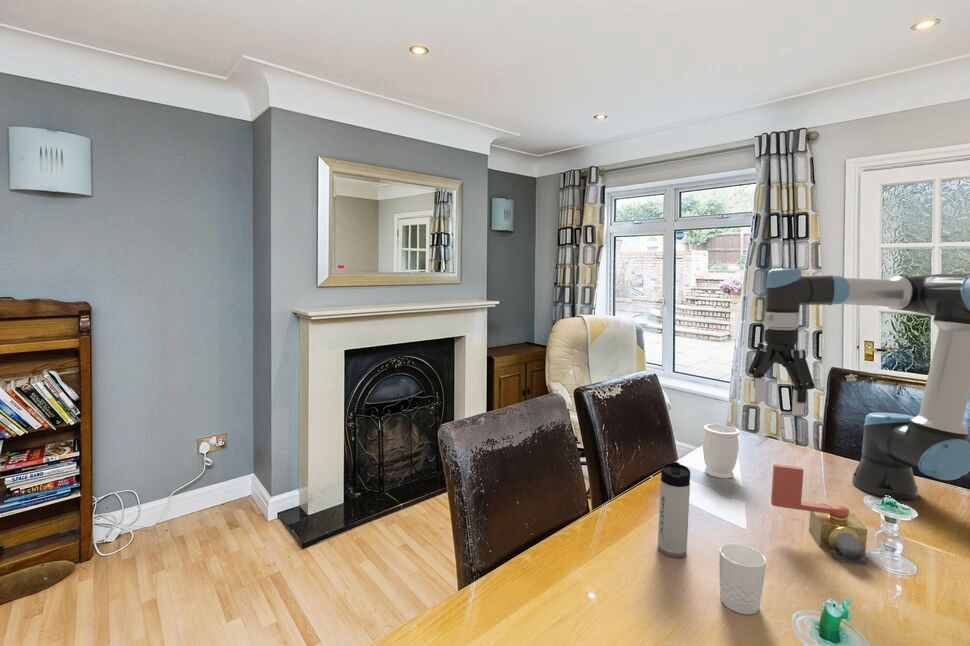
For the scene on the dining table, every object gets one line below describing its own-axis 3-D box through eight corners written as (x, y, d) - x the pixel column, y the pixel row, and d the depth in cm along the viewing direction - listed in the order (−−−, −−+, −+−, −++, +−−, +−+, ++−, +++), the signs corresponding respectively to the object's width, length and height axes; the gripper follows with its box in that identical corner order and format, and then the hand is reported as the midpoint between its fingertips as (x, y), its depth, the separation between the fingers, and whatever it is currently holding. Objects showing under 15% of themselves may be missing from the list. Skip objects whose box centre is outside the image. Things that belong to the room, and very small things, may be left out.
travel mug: (685, 545, 115) (689, 463, 113) (687, 560, 109) (691, 474, 107) (657, 540, 117) (661, 459, 115) (657, 555, 111) (661, 470, 109)
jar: (741, 482, 150) (744, 434, 149) (705, 478, 152) (708, 432, 151) (731, 468, 161) (734, 424, 159) (698, 466, 163) (700, 422, 161)
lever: (769, 501, 122) (772, 462, 121) (844, 511, 117) (848, 470, 116) (773, 508, 118) (776, 468, 117) (851, 518, 113) (854, 477, 112)
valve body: (802, 520, 127) (804, 495, 126) (842, 526, 124) (844, 500, 124) (827, 560, 109) (830, 531, 108) (875, 568, 106) (878, 538, 106)
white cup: (709, 591, 98) (711, 544, 97) (746, 589, 99) (749, 542, 98) (731, 618, 90) (735, 567, 89) (772, 616, 91) (775, 565, 90)
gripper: (736, 323, 139) (733, 396, 141) (807, 334, 114) (802, 422, 116) (760, 323, 140) (757, 395, 142) (835, 333, 115) (830, 420, 117)
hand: (777, 407), depth 129 cm, fingers open, 13 cm apart
